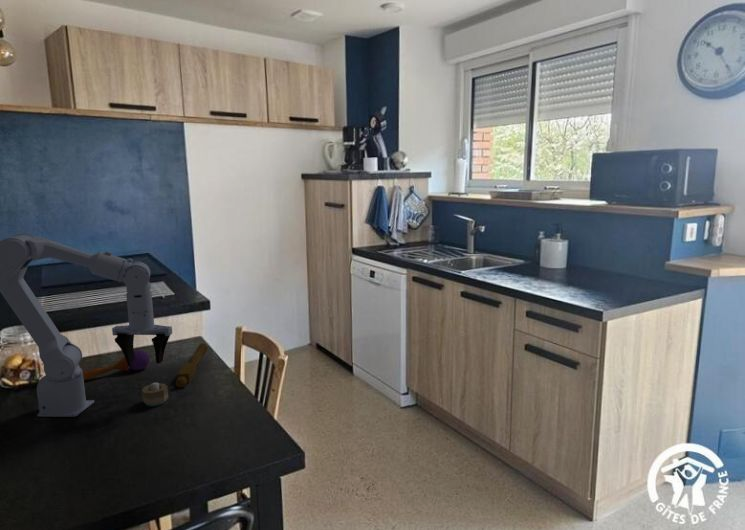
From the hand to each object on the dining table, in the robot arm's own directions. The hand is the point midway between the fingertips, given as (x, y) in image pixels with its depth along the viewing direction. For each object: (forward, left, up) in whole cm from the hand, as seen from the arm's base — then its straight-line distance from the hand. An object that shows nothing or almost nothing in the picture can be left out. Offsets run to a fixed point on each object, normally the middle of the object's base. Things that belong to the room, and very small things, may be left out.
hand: (145, 361), depth 125 cm
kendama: (-18, +15, -10) cm, 25 cm away
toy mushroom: (+3, -2, -10) cm, 11 cm away
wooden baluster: (+4, +20, -10) cm, 23 cm away
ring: (+3, -2, -9) cm, 10 cm away
